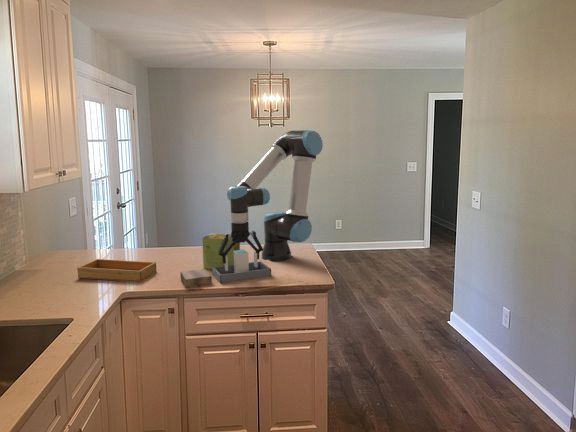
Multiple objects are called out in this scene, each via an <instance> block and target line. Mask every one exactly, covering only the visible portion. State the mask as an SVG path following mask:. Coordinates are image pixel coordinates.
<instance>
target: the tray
mask: <svg viewBox="0 0 576 432" xmlns="http://www.w3.org/2000/svg"><path fill="white" fill-rule="evenodd" d="M76 269H77V277H78V279H88V280H89V279H90V280H105V281H116V282H117V281H119V282H132V283H133V282H136V283H142V282H143V281H144V280H146V279H147V278H149V277H152V275H154V274H156V273H157V262H153V261H139V260H137V261H136V260H123V259H122V260H121V259H120V260H119V259H101V258H96V259H94V260H91V261H89V262H86V263H85V264H82V265H80V266H78V267H77V268H76Z"/></svg>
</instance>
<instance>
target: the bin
mask: <svg viewBox="0 0 576 432" xmlns="http://www.w3.org/2000/svg"><path fill="white" fill-rule="evenodd" d="M257 265H258V267H255V266H254V261H253V262H249V271H246V272H238V273H234V265H228V271H226V270H225V266H219V267H212V269H211V270H212V271H211V272H212V276H213V277H214V278H215V279H216V280H217V281H218V282H219V284H223V283H224V284H225V283H233V282H240V281H241V282H242V281H248V280H254V279H261V278H269V277H272V268H271V267H269V266H268V265H267V264H266V263H264V262H263V261H257Z"/></svg>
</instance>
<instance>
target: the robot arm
mask: <svg viewBox="0 0 576 432" xmlns="http://www.w3.org/2000/svg"><path fill="white" fill-rule="evenodd" d="M323 145H324V144H323V139H322V137H321V135H320V134H319V133H318V132H317V131H315V130H309V129H306V130H290V131H287V132H285V133H283V134H282V135H281V136H280V137H278V138H277V139H275V141H274V142H273V143H272V144H271V145H270V147H269V148H270V149H269V150H268V151H267V152H266V154H265V155H264V156H263V157H262V158H261V159H260V160H259V162H257V164H256V165H255V166H254V167H252V169H251V170H250V171H249V172H248V173H247V174H246V176H245V177H243V178H242V180H241V181H240V182H239V183H238V184H237V185H232V186H230V187H229V188H228V190H227V192H226V196H227V199H228V201H230V221H231V223H230V225H231V233H227V232H225V233H223V234H224V240H223V242H222V244H221V247H220V249H219V251H218V254H219V255H220V256H222V262H223V263H225V270H226V271H228V256H226V255H227V254H228V252H229V251H230V249H231V248H232V247H233V245H234V244H235V243H240V244H241V243H243V244H244V243H245V242H246V243H247V244H248V245H249V246H250V248H252V249H253V262H254V266H255V267H258V265H257V262H258V261H259V260H260V253H261V259H263V260H266V261H268V260H269V261H270V262H271V261H272V262H274V261H275V262H280V261H286V260H289V259H291V258H292V252H291V251H292V250H291V248H290V245H289V242H293V243H303V242H305V241H307V240H308V239H309V238H310V236H311V234H312V231H313V224H312V222H311V220H309V214H308V213H307V207H308V199H309V190H310V184H311V183H310V181H311V177H312V176H311V174H312V167H313V163H314V162H315V161H316V159H317V156H318V155H319V154H321V153H322V150H323ZM289 156H291V158H292V159H293V161H294V164H293V171H292V180H291V188H290V193H289V194H290V195H289V203H288V209H287V210H286V211H278V212H272V213H271V212H270V213H267V214H265V215H264V220H263V228H264V231H263V233H264V243H263V247H262V245H261V242H260V241H259V239H258V237H257V233H256V231H255V230H251V231H249V230H250V229H249V208H250V207H257V206H258V207H259V206H264V205H267V204H268V203H269V202H270V200H271V194H270V192H269V190H268V189H267V188H265V187H264V188H261V187H259V186H260V185H261V183H263V181H264V180H265V179H266V178H267V177H268V176H269V174H271V172H272V171H273V170H274V169H275V168H276V167H277V166H278V165H279V163H280V162H281V161H284V160H286V159H287V158H288V157H289ZM258 187H259V188H258ZM230 237H232V238H233V239H232V240H231V242H230V243H229V245H228V246H227V247H226V249H225V250H224V248H225V246H226V244H227V242H228V239H229V238H230ZM249 237H252V239H253V240H254V243H255V244H256V246H255V244H254V243H252V241H251V240H250V239H249ZM288 241H289V242H288Z"/></svg>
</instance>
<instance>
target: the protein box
mask: <svg viewBox="0 0 576 432" xmlns="http://www.w3.org/2000/svg"><path fill="white" fill-rule="evenodd" d="M224 234H225V233H209V234H207V235H205V236H204V237H202V239H201V241H202V259H203V260H202V261H203V269H206V270H207V269H208V270H209V269H210V270H212V267H219V266H225V263H223V262H222V256H220V255H219V254H218V251H219V249H220V247H221V244H222V242H223V240H224ZM232 239H233V238H232V237H230V238H229V239H228V242H227V244H226V246H225V248H224V250H225V249H226V247H227V246H228V245H229V243H230V242H231V240H232ZM240 245H241V243H235V244H234V245H233V247H232V248H231V249H230V251H229V252H228V254H227V255H226V256H228V265H234V250H241V246H240Z"/></svg>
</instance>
